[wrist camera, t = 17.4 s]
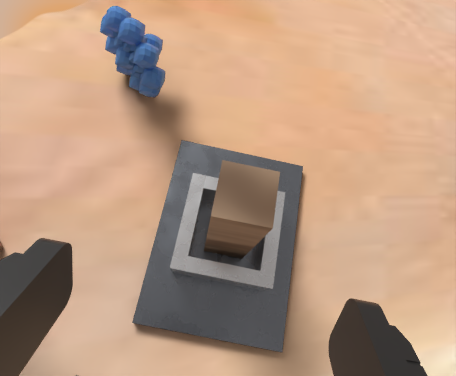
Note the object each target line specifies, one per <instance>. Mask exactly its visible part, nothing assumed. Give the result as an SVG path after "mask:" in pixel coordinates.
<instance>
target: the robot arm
mask: <svg viewBox="0 0 456 376" xmlns="http://www.w3.org/2000/svg"><path fill="white" fill-rule="evenodd" d="M72 285H73V279H72V246H71V244H69V243H65V242H60V241H55V240H50V239H45V238H41V239H39V240H37V241H36V242H35V243H34V244H33V245H32V246H31V247H30V248H29V249H28V250H27V251H26V252H25V253H24V254H20V253H13V254H11V255H9V256H7V257H5V258H3V259H1V260H0V376H19V374H20V373H21V371H22V370H23V368H24V367H25V366H26V364H27V363H28V361H29V360H30V358H31V357H32V355H33V354H34V352H35V351H36V349H37V348H38V346H39V345H40V343H41V342H42V340H43V339H44V337H45V336H46V335H47V333H48V332H49V330H50V329H51V327H52V326H53V324H54V323H55V321H56V320H57V318H58V317H59V315H60V314H61V312H62V311H63V309H64V308H65V306H66V305H67V303H68V300H69V298H70V295H71V291H72ZM329 358H330V362H331V366H332V370H333V374H334V376H427V374H426V372H425V370H424V368H423V367H422V366H420V361H419V359H418V357H417V355H416V353H415V351H414V349H413V347H412V345H411V343H410V342H409V341H408V340H407V339H406V338H405V337H404V336H403V334H402V333H401V332H400V331H399V330H398V329H397V328H396V327H395V326H392V325H389V323H388V321H387V319H386V317H385V315H384V313H383V311H382V309H381V307H380V306H379V305H378V304H376V303H372V302H367V301H362V300H357V299H349V300H348V301H347V302H346V304H345V306H344V308H343V310H342V312H341V314H340V316H339V318H338V320H337V322H336V324H335V327H334V329H333V331H332V333H331V335H330V339H329Z"/></svg>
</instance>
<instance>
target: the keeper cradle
mask: <svg viewBox="0 0 456 376" xmlns="http://www.w3.org/2000/svg"><path fill="white" fill-rule="evenodd" d="M222 160H225V161H230V162H235V163H240V164H244V165H249V166H254V167H259V168H264V169H269V170H274V171H278V172H280V177H279V184H278V192H277V200H276V208H275V216H274V223H273V229H272V230H271V231H270V232H269V233H268V234H267V235H266V236H265V237H264V238H263V239H262V240H261V241H260V242H259V243H258V244H257V245H256V246H255V247H254V248H253V249H252V250H251V251H249V252H248V253H247V254H246V255H245V256H244V257H243V258H236V257H231V256H226V255H221V254H216V253H211V252H206V251H204V247H205V242H206V237H207V232H208V227H209V222H210V217H211V213H212V208H213V203H214V198H215V193H216V189H217V184H218V179H219V174H220V169H221V165H222ZM302 170H303V166H299V165H294V164H290V163H285V162H280V161H276V160H271V159H267V158H262V157H257V156H253V155H248V154H243V153H239V152H234V151H230V150H225V149H220V148H216V147H211V146H206V145H202V144H197V143H193V142H188V141H183V140H182V141H181V145H180V149H179V152H178V156H177V160H176V163H175V167H174V171H173V174H172V178H171V182H170V186H169V189H168V193H167V197H166V200H165V204H164V208H163V211H162V215H161V219H160V222H159V226H158V230H157V234H156V237H155V241H154V245H153V248H152V252H151V256H150V259H149V263H148V267H147V270H146V274H145V278H144V281H143V285H142V289H141V293H140V296H139V300H138V304H137V307H136V311H135V315H134V318H133V322H132V323H136V324H141V325H146V326H151V327H156V328H161V329H166V330H171V331H176V332H182V333H187V334H192V335H197V336H202V337H207V338H212V339H217V340H222V341H227V342H232V343H237V344H243V345H248V346H253V347H258V348H263V349H268V350H273V351H278V352H282V349H283V340H284V331H285V322H286V313H287V304H288V295H289V287H290V278H291V269H292V260H293V251H294V242H295V233H296V224H297V215H298V206H299V197H300V188H301V179H302Z"/></svg>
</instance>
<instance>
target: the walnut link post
mask: <svg viewBox="0 0 456 376" xmlns="http://www.w3.org/2000/svg"><path fill="white" fill-rule="evenodd" d="M279 177H280V172H278V171H274V170H269V169H264V168H259V167H254V166H249V165H244V164H240V163H235V162H230V161H225V160H222V165H221V169H220V174H219V179H218V184H217V189H216V193H215V198H214V203H213V208H212V213H211V217H210V222H209V227H208V232H207V237H206V242H205V247H204V251H206V252H211V253H216V254H221V255H226V256H231V257H236V258H243V257H244V256H245V255H246V254H247V253H248V252H249V251H251V250H252V249H253V248H254V247H255V246H256V245H257V244H258V243H259V242H260V241H261V240H262V239H263V238H264V237H265V236H266V235H267V234H268V233H269V232H270V231H271V230H272V229H273V223H274V216H275V208H276V200H277V192H278V184H279Z"/></svg>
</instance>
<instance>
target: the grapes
mask: <svg viewBox="0 0 456 376" xmlns="http://www.w3.org/2000/svg"><path fill="white" fill-rule="evenodd" d="M100 32H101V33H103V34H105V35H107V36H108V37H107V40H106V48H105V50H107V51H109V52H111V53H113V54H116V61H115V64H116V65H117V71H118V72H120V73H123V74H125V75H131V76H130V81H129V87H131V88H133V89H135V90H137V91H139V93H140V94H142V95H145V96H147V97H156V96H157V95H158V94H159V92H160V89H161V87H162V85H163V83H164V81H165V71H164V70H163V69H161V68H158V67H156V64H157V62H158V59H159V55H160V52H161V50H162V43H163V40H162V39H160V38H159V37H157V36H155V35H153V34H146V35H144V34H145V25H144V24H143V23H141V22H140V21H138V20H136V19H134V18H131V14H130V13H129V12H128V11H126V10H125V9H123V8H121V7H119V6H112V7H110V8H109V9H108V10H107V13H106V15H105V16H104V17H103V18H102V21H101V29H100Z"/></svg>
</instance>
